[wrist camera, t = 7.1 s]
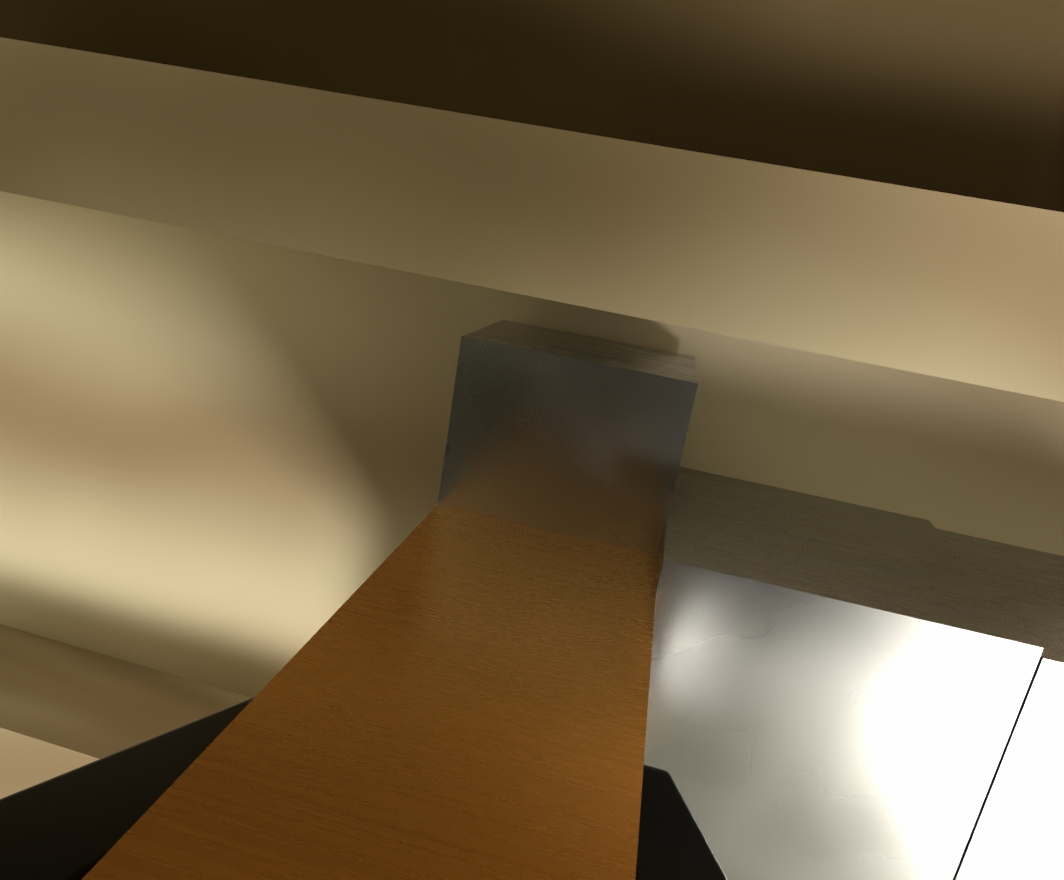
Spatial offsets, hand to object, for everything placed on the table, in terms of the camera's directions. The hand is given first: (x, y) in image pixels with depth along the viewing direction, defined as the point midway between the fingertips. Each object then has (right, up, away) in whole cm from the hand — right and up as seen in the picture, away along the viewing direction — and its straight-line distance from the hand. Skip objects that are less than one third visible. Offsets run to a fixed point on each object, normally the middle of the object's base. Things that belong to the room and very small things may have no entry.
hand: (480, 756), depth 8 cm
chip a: (+4, +1, +5) cm, 6 cm away
